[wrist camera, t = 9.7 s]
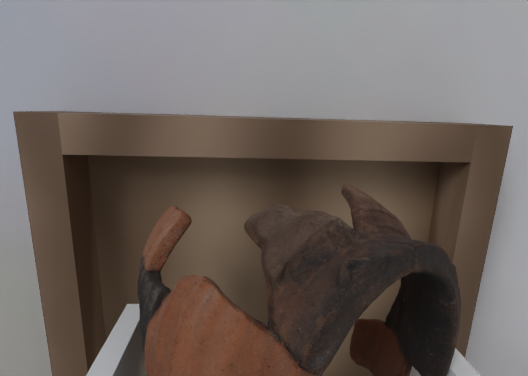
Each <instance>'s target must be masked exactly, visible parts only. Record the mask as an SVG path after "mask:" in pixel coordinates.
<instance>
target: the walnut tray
mask: <svg viewBox="0 0 528 376" xmlns="http://www.w3.org/2000/svg"><path fill="white" fill-rule="evenodd" d="M13 113H14V120H15V126H16V133H17V140H18V147H19V153H20V160H21V167H22V174H23V180H24V187H25V194H26V201H27V207H28V214H29V221H30V228H31V234H32V241H33V248H34V255H35V262H36V268H37V275H38V282H39V289H40V295H41V302H42V309H43V316H44V322H45V329H46V336H47V343H48V349H49V356H50V363H51V370H52V376H86V375H87V373H88V371H89V369H90V368H91V366H92V364H93V363H94V361H95V359H96V357H97V356H98V354H99V352H100V350H101V349H102V347H103V345H104V343H105V342H106V340H107V338H108V336H109V335H110V333H111V331H112V330H113V328H114V326H115V324H116V323H117V321H118V319H119V317H120V316H121V314H122V312H123V310H124V309H125V307H126V305H127V304H139V299H138V295H137V285H138V277H139V266H140V260H141V257H142V255H143V251H144V248H145V245H146V243H147V240H148V238H149V236H150V233H151V232H152V230H153V228H154V226H155V225H156V223H157V222H158V220H159V219H160V218H161V216H162V215H163V214H164V213H165V212H166V210H167V209H168V208H170V207H172V206H177V207H178V208H179V209H181V210H183V211H184V212H185V213H187V214H188V215H189V216H190V217H191V221H192V222H191V224H190V226H189V227H188V229H187V230H186V231H185V233H184V234H183V235H182V237H181V239H180V240H179V241H178V243H177V244H176V245H175V247H174V249H173V250H172V252H171V253H170V255H169V257H168V259H167V261H166V263H165V264H164V266H163V268H162V270H161V273H160V274H161V279H162V283H163V284H164V285H165V286H166V287H168V288H170V290H171V291H172V289H173V288H174V286H175V285H176V283H177V282H178V280H179V279H180V278H182V277H184V276H188V275H198V276H206V277H208V278H210V279H211V280H213V281H214V282H215V283H216V284H217V286H218V287H219V288H220V289H221V291H222V292H223V293H224V295H225V296H226V297H228V298H229V299H230V300H231V301H232V302H233V303H234V304H235V305H237V306H238V307H239V308H240V309H242V310H243V311H245V312H246V313H248V314H249V315H250V316H252V317H253V318H255V319H256V320H259V321H261V322H263V323H266V324H267V323H268V308H267V298H268V296H267V288H266V282H265V278H264V274H263V270H262V262H261V251H262V250H261V248H260V247H258V246H257V245H256V244H255V243H254V241H253V240H252V239H251V238H250V237H249V235H248V234H247V233H246V231H245V229H244V224H245V222H246V220H247V219H248V218H249V217H250V216H252V215H253V214H255V213H257V212H260V211H262V210H263V209H265V208H268V207H270V206H272V205H276V204H284V205H288V206H290V207H292V208H294V209H296V210H298V211H320V212H325V213H328V214H330V215H332V216H335V217H339V218H340V219H342V220H343V221H344V222H345V223H347V224H348V225H349V226H350V227H352V228H353V224H352V217H351V209H350V207H349V204H348V203H347V201H346V199H345V198H344V196H343V195H342V193H341V188H342V186H343V185H344V184H350V185H352V186H354V187H355V188H357V189H359V190H361V191H363V192H365V193H366V194H368V195H369V196H371V197H372V198H373V199H375V200H376V201H377V202H379V203H380V204H381V205H382V206H384V207H385V208H386V209H387V210H388V211H390V212H391V213H392V214H393V215H395V216H396V217H397V218H398V219H399V220H400V221H401V222H402V224H403V225H404V227H405V229H406V231H407V232H408V233H409V235H410V237H411V239H412V240H419V241H423V242H431V243H433V244H436V245H438V246H440V247H441V248H443V249H444V250H445V251H446V252H447V254H448V256H449V258H450V260H451V262H452V263H453V264H454V265H455V266H456V273H457V277H458V287H459V289H460V296H461V315H460V327H459V333H458V337H457V344H456V349H457V350H458V351H459V352H460V353H461V354H462V356H463V357H464V358H465V354H466V349H467V344H468V339H469V335H470V330H471V325H472V320H473V315H474V311H475V306H476V301H477V296H478V291H479V287H480V282H481V277H482V272H483V267H484V263H485V258H486V253H487V248H488V243H489V239H490V234H491V229H492V224H493V219H494V215H495V210H496V205H497V200H498V195H499V191H500V186H501V181H502V176H503V171H504V167H505V162H506V157H507V152H508V147H509V143H510V138H511V133H512V128H513V126H501V125H486V124H470V123H441V122H407V121H373V120H339V119H305V118H271V117H237V116H203V115H169V114H136V113H102V112H68V111H30V112H13ZM400 286H401V278H400V279H398V280H397V281H396V282H395V283H393V284H392V285H390V286H389V287H388V288H387V289H386V290H385V291H384V292H383V293H382V294H381V295H380V296H379V297H378V298H376V299H375V300H374V301H373V302H372V303H371V304H370V305H369V307H368V308H367V309H366V310H365V311H364V312H363V313H362V315H361V316H360V317H359V319H379V320H382V321H384V322H385V321H386V317H387V315H388V313H389V312H390V309H391V306H392V305H393V303H394V300H395V299H396V296H397V295H398V292H399V288H400ZM354 325H355V324H354ZM354 325H353V326H352V328H351V329H350V331H349V333H348V334H347V336H346V338H345V339H344V341H343V343H342V344H341V346H340V348H339V350H338V351H337V353H336V354H335V356H334V357H333V359H332V361H331V363H330V364H329V366H328V367H327V368H326V369H325V371H324V372H323V375H322V376H374V375H373V374H372V373H371V372H370V371H369V370H368V369H366V368H364V367H361V366H359V365H357V364H356V363H355V362H354V361H353V360H352V359H351V357H350V342H351V336H352V333H353V329H354ZM146 376H148V375H147V373H146Z"/></svg>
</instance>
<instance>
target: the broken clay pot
mask: <svg viewBox="0 0 528 376" xmlns="http://www.w3.org/2000/svg"><path fill="white" fill-rule="evenodd" d="M341 193H342V195H343V196H344V198H345V199H346V201H347V203H348V204H349V207H350V209H351V217H352V224H353V228H352V227H350V226H349V225H348V224H347V223H345V222H344V221H343V220H342V219H340V218H339V217H335V216H332V215H330V214H328V213H325V212H320V211H298V210H296V209H294V208H292V207H290V206H288V205H284V204H276V205H272V206H270V207H268V208H265V209H263V210H262V211H260V212H257V213H255V214H253V215H252V216H250V217H249V218H248V219H247V220H246V222H245V224H244V229H245V231H246V233H247V234H248V235H249V237H250V238H251V239H252V240H253V241H254V243H255V244H256V245H257V246H258V247H260V248H261V250H262V251H261V262H262V270H263V274H264V278H265V282H266V288H267V296H268V298H267V308H268V323H267V324H266V323H263V322H261V321H259V320H256V319H255V318H253V317H252V316H250V315H249V314H248V313H246V312H245V311H243V310H242V309H240V308H239V307H238V306H237V305H235V304H234V303H233V302H232V301H231V300H230V299H229V298H228V297H226V296H225V295H224V293H223V292H222V291H221V289H220V288H219V287H218V286H217V284H216V283H215V282H214V281H213V280H211V279H210V278H208V277H206V276H198V275H188V276H184V277H182V278H180V279H179V280H178V282H177V283H176V285H175V286H174V288H173V289H172V291H171V290H170V288H168V287H166V286H165V285H164V284H163V283H162V279H161V274H160V273H161V270H162V268H163V266H164V264H165V263H166V261H167V259H168V257H169V255H170V253H171V252H172V250H173V249H174V247H175V245H176V244H177V243H178V241H179V240H180V239H181V237H182V235H183V234H184V233H185V231H186V230H187V229H188V227H189V226H190V224H191V222H192V221H191V217H190V216H189V215H188V214H187V213H185V212H184V211H183V210H181V209H179V208H178V207H177V206H172V207H170V208H168V209H167V210H166V212H165V213H164V214H163V215H162V216H161V218H160V219H159V220H158V222H157V223H156V225H155V226H154V228H153V230H152V232H151V233H150V236H149V238H148V240H147V243H146V245H145V248H144V251H143V255H142V257H141V260H140V266H139V277H138V285H137V295H138V299H139V309H140V322H139V325H140V331H141V341H142V350H143V355H144V360H145V370H146V372H147V375H148V376H322V375H323V372H324V371H325V369H326V368H327V367H328V366H329V364H330V363H331V361H332V359H333V357H334V356H335V354H336V353H337V351H338V350H339V348H340V346H341V344H342V343H343V341H344V339H345V338H346V336H347V334H348V333H349V331H350V329H351V328H352V326H353V325H354V324H355V325H354V329H353V333H352V336H351V342H350V357H351V359H352V360H353V361H354V362H355V363H356V364H357V365H359V366H361V367H364V368H366V369H368V370H369V371H370V372H371V373H372V374H373V375H374V376H409V375H410V372H411V369H412V366H413V367H414V368H415V369H416V370H417V371H418V372H419V374H420V375H421V376H447V374H448V371H449V369H450V365H451V362H452V358H453V356H454V351H455V348H456V344H457V337H458V333H459V327H460V315H461V296H460V289H459V287H458V277H457V273H456V266H455V265H454V264H453V263H452V262H451V260H450V258H449V256H448V254H447V252H446V251H445V250H444V249H443V248H441V247H440V246H438V245H436V244H433V243H431V242H423V241H419V240H412V239H411V237H410V235H409V233H408V232H407V231H406V229H405V227H404V225H403V224H402V222H401V221H400V220H399V219H398V218H397V217H396V216H395V215H393V214H392V213H391V212H390V211H388V210H387V209H386V208H385V207H384V206H382V205H381V204H380V203H379V202H377V201H376V200H375V199H373V198H372V197H371V196H369V195H368V194H366V193H365V192H363V191H361V190H359V189H357V188H355V187H354V186H352V185H350V184H344V185H343V186H342V188H341ZM400 278H401V286H400V288H399V292H398V295H397V296H396V299H395V301H394V303H393V305H392V306H391V309H390V312H389V313H388V315H387V317H386V321H385V322H384V321H382V320H379V319H359V317H360V316H361V315H362V313H363V312H364V311H365V310H366V309H367V308H368V307H369V305H370V304H371V303H372V302H373V301H374V300H375V299H376V298H378V297H379V296H380V295H381V294H382V293H383V292H384V291H385V290H386V289H387V288H388V287H389V286H390V285H392V284H393V283H395V282H396V281H397V280H398V279H400Z"/></svg>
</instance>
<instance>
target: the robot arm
mask: <svg viewBox="0 0 528 376" xmlns="http://www.w3.org/2000/svg"><path fill="white" fill-rule="evenodd" d="M394 301H395V300H394ZM139 322H140V309H139V304H127V305H126V307H125V309H124V310H123V312H122V314H121V316H120V317H119V319H118V321H117V323H116V324H115V326H114V328H113V330H112V331H111V333H110V335H109V336H108V338H107V340H106V342H105V343H104V345H103V347H102V349H101V350H100V352H99V354H98V356H97V357H96V359H95V361H94V363H93V364H92V366H91V368H90V369H89V371H88V373H87V375H86V376H146V373H147V372H146V370H145V360H144V355H143V350H142V341H141V331H140V325H139ZM409 376H421V375H420V374H419V372H418V371H417V370H416V369H415V368H414V367H413V366H412V369H411V372H410V375H409ZM447 376H481V375H480V374H479V373H478V372H477V371H476V370H475V369H474V368H473V367H472V365H471V364H470V363H469V362H468V361H467V360H466V359H465V358H464V357H463V356H462V354H461V353H460V352H459V351H458V350H457V349H456V348H455V351H454V356H453V358H452V362H451V365H450V369H449V371H448V374H447Z"/></svg>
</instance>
